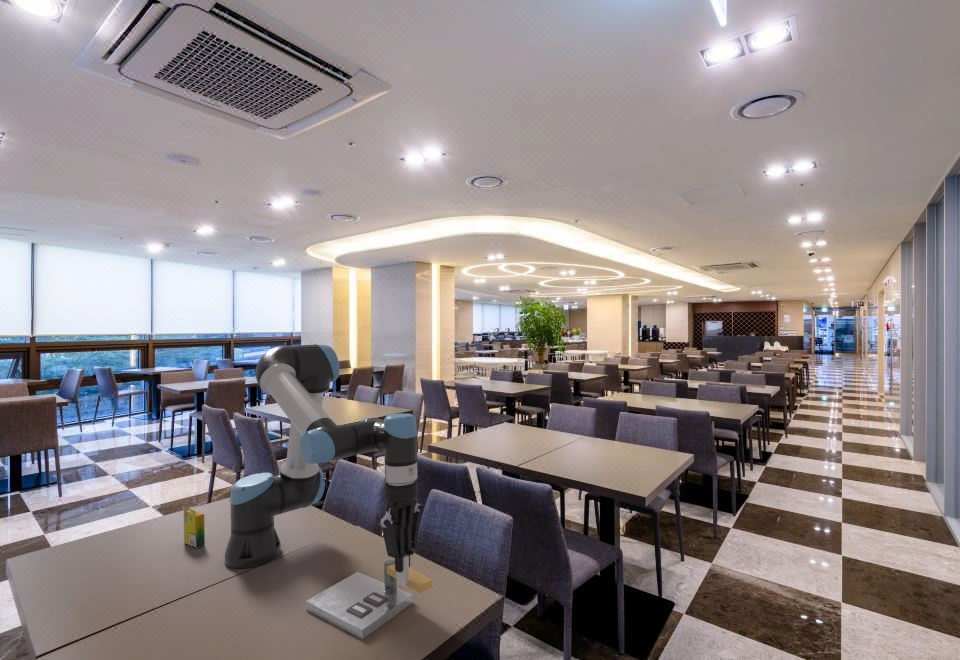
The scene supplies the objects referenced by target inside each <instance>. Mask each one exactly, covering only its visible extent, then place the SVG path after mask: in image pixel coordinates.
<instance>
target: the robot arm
mask: <svg viewBox="0 0 960 660" xmlns="http://www.w3.org/2000/svg"><path fill="white" fill-rule="evenodd" d="M339 376H340V361H339V357H338V355H337V353H336V351H335V349H334V348H332V347H331V346H330V345H328V344H317V343H314V344H300V345H299V344H298V345H297V344H296V345H280V346H276V347H273V348H270V349H269V350H267V351H266V352H265V353H264V354H262V356H261V357H260V358H259V360H258V362H257V364H256V366H255V379H256V383H257V384H258V386H259V387H260V389H261V390H262V392H264V393H265V394H267V395H269V396H271V397H272V398H273V399H274V401H275V402H276V403H277V405H278V406H279V407H280V409H281V410H282V412H283V413H284V414H285V416H286V417H287V418H288V419H289V421H290V426H289V434H288V442H287V452H286V453H287V454H286V462H284V463H283V464H281V466H280V470H279V474H277V475H273V473H271V472H260V473H254V474H249V475H247V476H245V477H242V478H240V479H238V480H236V482H235V483H234V484H232V486H231V488H230V498H229V504H230V537H229V540H228V541H227V542H228V543H227V546H226V549H225V552H224V565H226V566H227V567H228V568H232V569H248V568H254V567H257V566H261V565H264V564H266V563H269V562H270V561H273V560H274V559H276V558H277V557H278V556H279V555H280V553H281V551H282V550H281V549H282V548H281V547H282V545H281V544H282V543H281V541H280V538H279V536H278V532H277V530H276V527H275V517H276V516H278V515H282V514H286V513H289V512H291V511H295V510H299V509H305V508H307V507H310V506H312V505H315V504H316V503H318V502H319V501H320V500H321V499H322V497H323V495H324V492H325V488H326V487H325V485H326V482H325V474H324V473H323V470H322V469H321V468H320V466H319V464H321V463H322V464H324V463H329V462H331V461H335V460H340V459H344V458H348V457H349V458H350V457H352V456H358V455H362V454H368V453H371V452H380V453H384V481H385V482H386V483H385V485H384V489H385V490H384V494H385V496H384V497H385V500H386V502H387V506H386V511H385V513H386V514H385V515H384V516H383V517H382V518H381V517H379V518H378V520H377V521H378V525H379V526H380V527H381V531H382V534H383V542H384V545H385V550H386V553H387V556H388V557H390V558H393V559H394V560H395V571H397V585H400V586H402V587H408V586H407V585H409V567H410V568H411V556H413V555H414V554H415V551H414V550H413V549H416V548H417V546H418V541H419V540H418V539H419V534H420V533H419V532H420V525H421V518H422V513H423V511H424V508H425V506H424V504H420V503H418V502H417V498H418V496H419V488H418V487H419V485H418V484H419V483H418V481H417V480H418V432H419V431H418V428H417V426H418V425H417V418H416V416H415V415H413V414H411V413H393V414H388V415H386V416H385V417H384V419H380V418H376V417H371V418H370V417H365V418H362V419H360V420H359V421H358V422H353V423H352V422H351V423H347V424H341V425H337V424H336V422H334V420H333V419H332V418H331V417H330V416H329V415H328V413H327V412H326V411H325V410H324V409H323V399H324V394H326V393H327V392H329V390H330V385H331V383H333V382H335V381H336V380H338V378H339Z"/></svg>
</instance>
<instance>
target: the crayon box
mask: <svg viewBox="0 0 960 660" xmlns="http://www.w3.org/2000/svg"><path fill="white" fill-rule="evenodd" d="M183 533H184V534H183V543H184V542H185V543H187V544H189V545H191V546H190V547H192V546H194V547H198V548H200V547H202V546H201V545H203V546H204V545H206V543H205V538H206V537H205V535H206V534H205V514H204V513H201V512H199V511H196V510H194V509H192V508H188V507H185V506H184V507H183ZM187 544H186V545H187ZM189 545H188V546H189ZM199 546H200V547H199ZM194 547H193V548H194Z"/></svg>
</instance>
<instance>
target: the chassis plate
mask: <svg viewBox="0 0 960 660" xmlns="http://www.w3.org/2000/svg"><path fill="white" fill-rule="evenodd" d="M373 592H375V593H378V594H380V595H382V596H384V597H387V598H388V600H387V601H385V602H384V603H382V604H381V605H380V606H378V607H377V606H375V605H373V604H370V603H368V602H366V601H364V600H363V599H364V598H365V597H367V596H368V595H370V594H372V593H373ZM413 596H414V595H413V593H410V592H408V591H406V590H403V589H400V588H398V587H397V590H396V591H395V592H394V593H386V592H385V584H384V582H383V581H381V580H378V579H376V578H373V577H371V576H370V575H366V574H364V573H361V572H359V571H357V572H355V573H353V574H351V575H349V576H347V577H346V578H344V579H342V580H340V581H339V582H337V583H335V584H334V585H331V586H330V587H328V588H326V589H324V590H322V591H321V592H319V593H317V594H316V595H314V596H312V597H310V598H308V599H307V600H305V603H304V604H305V610H306V611H307V612H309V613H312V614H313V615H315V616H317V617H320V619H323V620H324V621H327V622H329V623H331V624H332V625H334V626H336V627H338V628H340V629H342V630H344V631H346V632H348V633H350V634H351V635H353V636H356V637H357V638H359V639H361V640H364V639H365V638H366V637H368V636H369V635H370V634H372V633H373V632H375V631H376V630H377V629H379V628H380V627H382V625H385V623H387V622H388V621H390V620H391V619H393V618H394V617H395V616H396V615H398V614H400V613H401V612H402V611H404V610H405V609H406V608H408V607H409V606H410V605H412V604H413V603H414V600H413V599H414V597H413ZM357 602H359V603H361V604H364V605H366V606H368V607H370V608H372V609H373V610H372V611H371V612H369V613H368V614H366V615H365V616H363V617H362V618H360V617H358V616H356V615H354V614H352V613H350V612H348V611H346V609H348V608H349V607H351V606H353V605H354V604H356V603H357Z"/></svg>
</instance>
